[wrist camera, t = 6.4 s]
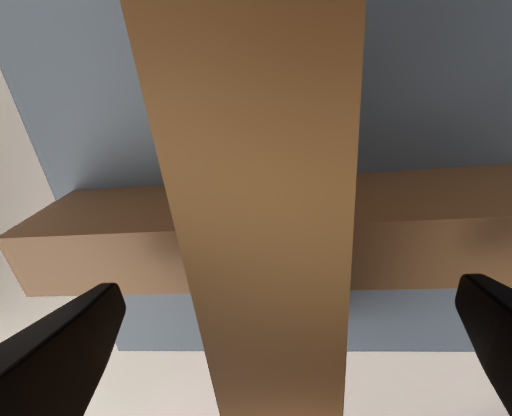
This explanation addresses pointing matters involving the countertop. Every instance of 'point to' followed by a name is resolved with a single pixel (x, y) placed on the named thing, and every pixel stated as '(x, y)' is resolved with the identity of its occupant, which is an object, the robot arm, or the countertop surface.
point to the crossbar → (260, 184)
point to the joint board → (396, 127)
